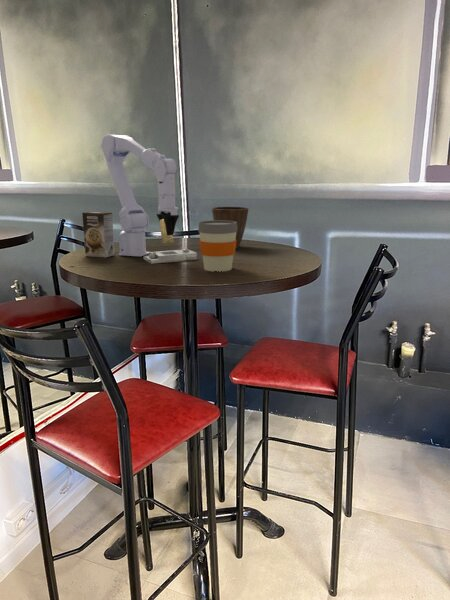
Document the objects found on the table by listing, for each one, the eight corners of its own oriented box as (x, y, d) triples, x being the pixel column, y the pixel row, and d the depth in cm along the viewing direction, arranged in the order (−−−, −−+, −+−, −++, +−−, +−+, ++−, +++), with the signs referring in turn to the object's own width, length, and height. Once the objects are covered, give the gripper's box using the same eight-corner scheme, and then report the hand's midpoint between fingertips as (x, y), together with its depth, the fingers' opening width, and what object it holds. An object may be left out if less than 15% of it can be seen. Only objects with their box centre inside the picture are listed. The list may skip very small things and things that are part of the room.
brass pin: (159, 243, 165) (157, 220, 163) (164, 241, 169) (163, 218, 166) (170, 243, 164) (168, 220, 161) (175, 241, 167) (173, 218, 165)
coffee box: (84, 256, 175) (81, 212, 170) (95, 253, 180) (91, 210, 176) (105, 257, 172) (102, 213, 167) (115, 254, 177) (112, 211, 173)
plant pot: (213, 244, 202) (212, 206, 197) (247, 244, 201) (248, 206, 197) (210, 250, 187) (210, 209, 183) (248, 250, 187) (248, 209, 182)
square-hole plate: (151, 263, 161) (150, 254, 160) (143, 259, 169) (143, 250, 168) (196, 259, 168) (196, 250, 167) (187, 255, 176) (187, 246, 175)
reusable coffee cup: (200, 264, 159) (199, 220, 155) (237, 264, 159) (237, 220, 155) (197, 272, 147) (196, 224, 143) (237, 272, 147) (237, 224, 143)
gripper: (185, 195, 157) (186, 236, 161) (170, 193, 170) (171, 231, 174) (165, 196, 154) (166, 237, 158) (151, 194, 167) (153, 232, 171)
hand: (168, 234), depth 166 cm, fingers closed on brass pin, 4 cm apart
